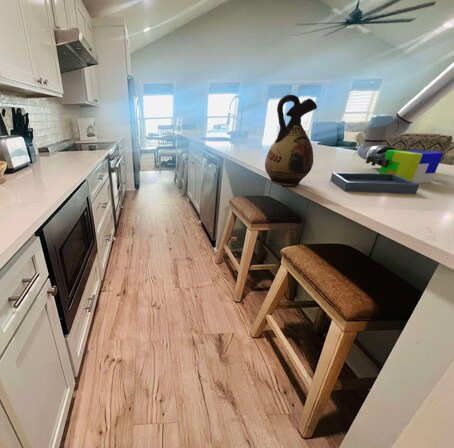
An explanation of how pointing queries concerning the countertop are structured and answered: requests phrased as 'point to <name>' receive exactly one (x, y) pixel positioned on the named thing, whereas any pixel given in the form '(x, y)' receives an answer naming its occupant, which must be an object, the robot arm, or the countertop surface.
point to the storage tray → (374, 183)
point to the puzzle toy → (412, 164)
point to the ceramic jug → (290, 145)
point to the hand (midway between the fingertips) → (411, 164)
